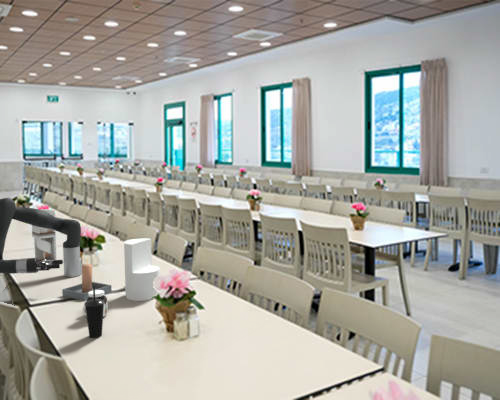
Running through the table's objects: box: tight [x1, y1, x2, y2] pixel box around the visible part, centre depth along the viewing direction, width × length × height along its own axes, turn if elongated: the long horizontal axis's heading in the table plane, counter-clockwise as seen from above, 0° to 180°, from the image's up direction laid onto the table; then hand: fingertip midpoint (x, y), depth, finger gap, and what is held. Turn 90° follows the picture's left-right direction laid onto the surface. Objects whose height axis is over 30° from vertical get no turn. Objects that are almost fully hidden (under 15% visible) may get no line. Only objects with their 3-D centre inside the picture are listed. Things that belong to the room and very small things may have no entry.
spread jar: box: [82, 290, 109, 320], centre depth 221 cm, size 12×11×12 cm
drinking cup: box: [83, 287, 105, 339], centre depth 198 cm, size 8×8×20 cm
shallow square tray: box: [61, 281, 112, 302], centre depth 257 cm, size 18×16×4 cm
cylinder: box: [123, 237, 161, 302], centre depth 252 cm, size 17×17×28 cm
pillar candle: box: [81, 263, 93, 293], centre depth 256 cm, size 5×5×14 cm
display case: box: [31, 208, 58, 263], centre depth 323 cm, size 11×11×35 cm
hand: (61, 263), depth 254 cm, fingers open, 8 cm apart
